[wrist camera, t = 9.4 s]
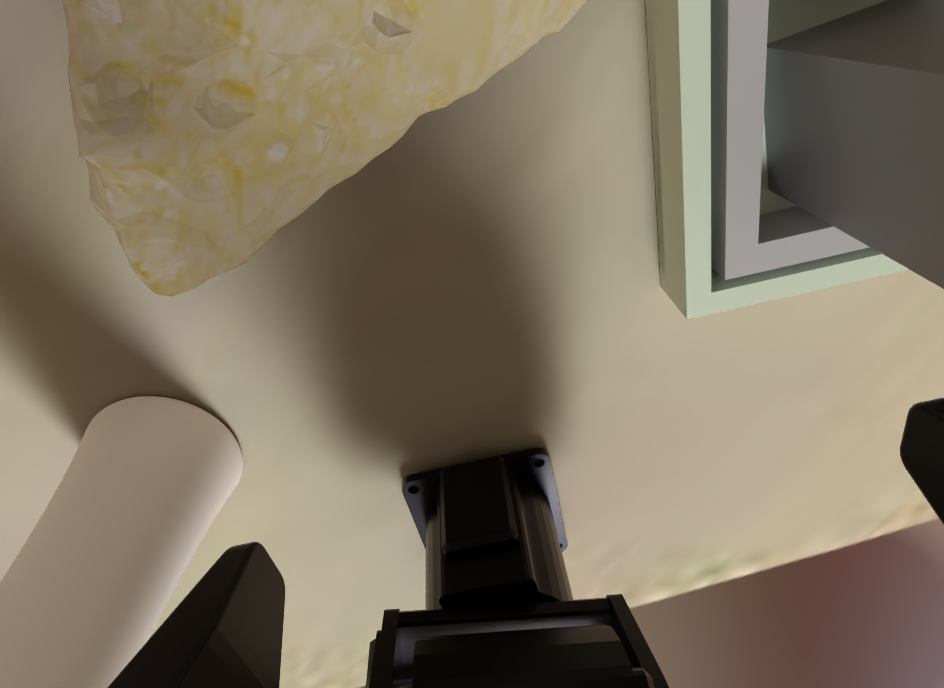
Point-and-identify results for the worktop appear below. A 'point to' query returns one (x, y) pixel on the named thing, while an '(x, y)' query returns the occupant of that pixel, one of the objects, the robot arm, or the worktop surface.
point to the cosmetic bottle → (113, 542)
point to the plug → (864, 128)
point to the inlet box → (734, 161)
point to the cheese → (262, 107)
